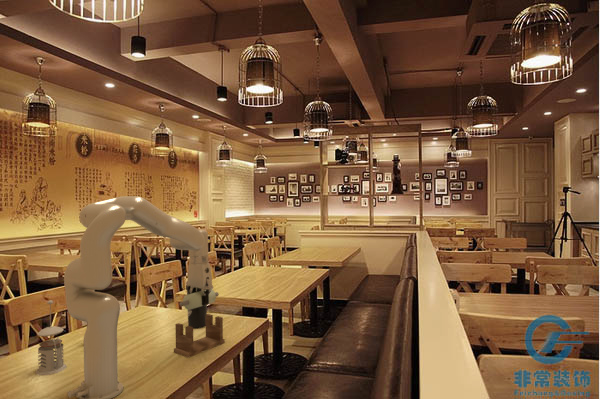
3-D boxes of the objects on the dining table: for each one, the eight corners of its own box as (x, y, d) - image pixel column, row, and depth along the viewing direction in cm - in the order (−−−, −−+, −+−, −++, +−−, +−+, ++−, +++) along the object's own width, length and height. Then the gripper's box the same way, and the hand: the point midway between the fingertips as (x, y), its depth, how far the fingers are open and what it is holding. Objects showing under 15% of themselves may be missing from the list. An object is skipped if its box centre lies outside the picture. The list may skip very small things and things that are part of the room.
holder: (188, 357, 158) (188, 328, 158) (173, 352, 164) (173, 324, 164) (224, 342, 174) (224, 316, 174) (210, 338, 179) (209, 313, 179)
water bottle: (184, 324, 199) (184, 277, 199) (205, 321, 204) (205, 275, 203) (188, 330, 190) (187, 280, 190) (210, 327, 194) (209, 278, 194)
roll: (185, 313, 159) (185, 297, 159) (176, 310, 163) (175, 295, 163) (222, 302, 175) (221, 288, 175) (212, 299, 178) (212, 286, 178)
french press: (60, 361, 156) (59, 295, 155) (73, 369, 148) (72, 300, 148) (30, 370, 148) (29, 300, 148) (43, 379, 141) (42, 306, 140)
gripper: (220, 260, 166) (221, 304, 167) (192, 256, 176) (193, 298, 177) (206, 263, 160) (206, 309, 161) (178, 259, 170) (178, 302, 171)
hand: (199, 303), depth 169 cm, fingers closed on roll, 6 cm apart
